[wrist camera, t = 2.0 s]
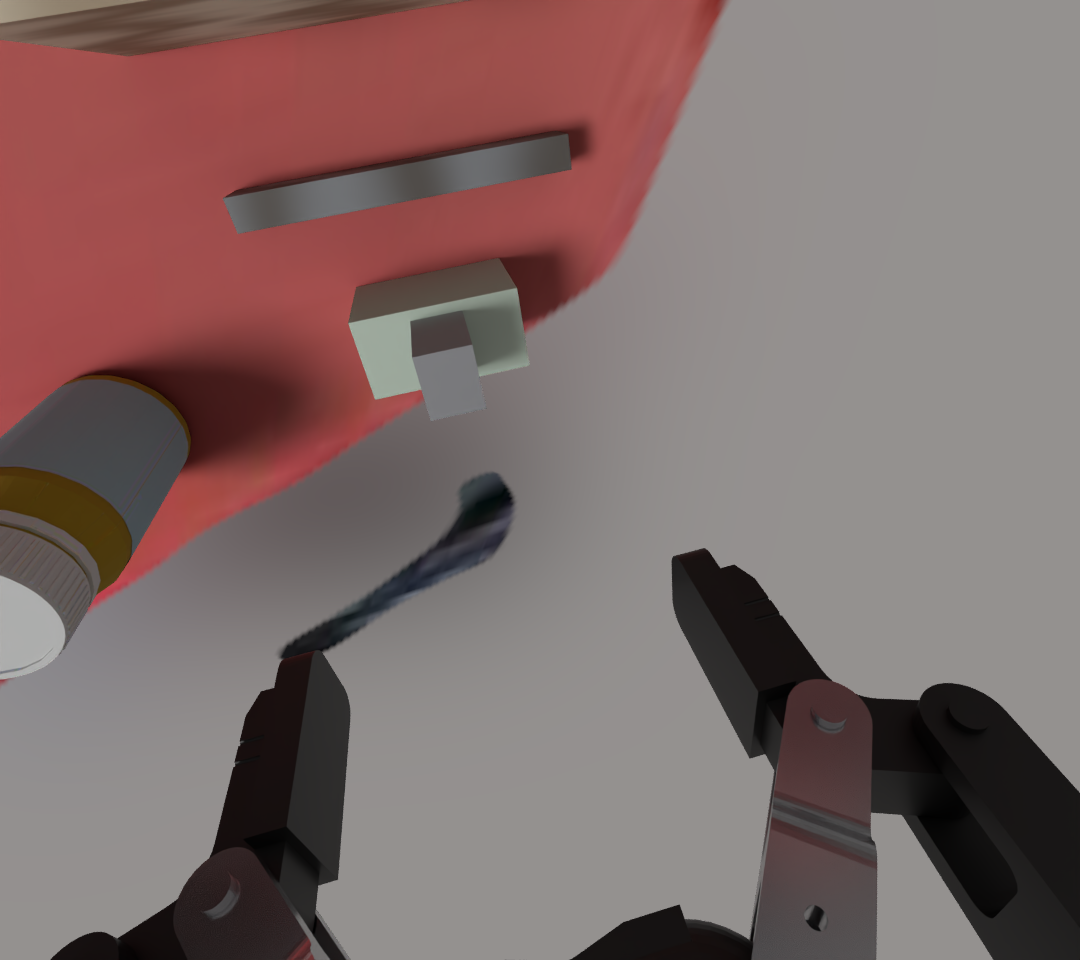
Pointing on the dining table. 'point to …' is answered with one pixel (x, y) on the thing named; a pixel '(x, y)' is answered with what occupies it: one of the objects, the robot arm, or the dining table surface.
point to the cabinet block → (440, 334)
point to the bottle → (77, 505)
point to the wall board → (265, 7)
